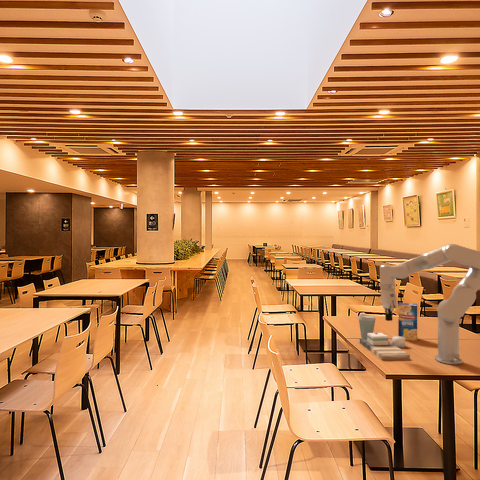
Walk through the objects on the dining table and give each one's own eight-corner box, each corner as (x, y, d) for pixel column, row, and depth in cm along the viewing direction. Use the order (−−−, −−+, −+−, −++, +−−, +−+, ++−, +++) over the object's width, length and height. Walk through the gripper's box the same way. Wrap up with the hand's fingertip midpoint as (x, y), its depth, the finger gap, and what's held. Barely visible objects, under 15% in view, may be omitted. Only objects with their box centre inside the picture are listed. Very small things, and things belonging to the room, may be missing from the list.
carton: (388, 344, 214) (388, 335, 214) (372, 345, 213) (372, 335, 213) (381, 341, 222) (381, 331, 222) (367, 341, 221) (367, 332, 221)
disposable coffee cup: (371, 336, 242) (371, 313, 242) (378, 341, 231) (378, 317, 231) (355, 336, 241) (355, 313, 241) (361, 341, 231) (361, 317, 231)
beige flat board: (409, 359, 195) (409, 354, 195) (381, 360, 195) (381, 355, 195) (383, 342, 227) (383, 338, 227) (359, 342, 227) (359, 338, 227)
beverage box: (417, 340, 231) (417, 305, 231) (398, 339, 235) (398, 304, 235) (417, 338, 237) (417, 303, 237) (398, 336, 242) (398, 302, 242)
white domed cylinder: (407, 347, 217) (407, 339, 217) (395, 347, 217) (395, 339, 217) (401, 344, 224) (401, 335, 224) (390, 344, 224) (390, 336, 224)
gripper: (400, 288, 198) (402, 323, 197) (388, 285, 213) (389, 317, 212) (386, 289, 197) (388, 323, 197) (375, 285, 212) (376, 318, 212)
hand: (388, 320), depth 205 cm, fingers closed
